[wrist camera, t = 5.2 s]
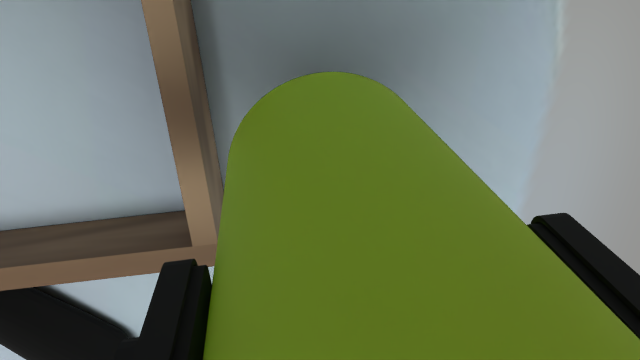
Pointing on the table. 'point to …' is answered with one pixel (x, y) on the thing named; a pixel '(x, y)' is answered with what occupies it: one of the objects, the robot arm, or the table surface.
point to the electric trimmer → (53, 328)
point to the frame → (146, 230)
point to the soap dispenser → (382, 245)
